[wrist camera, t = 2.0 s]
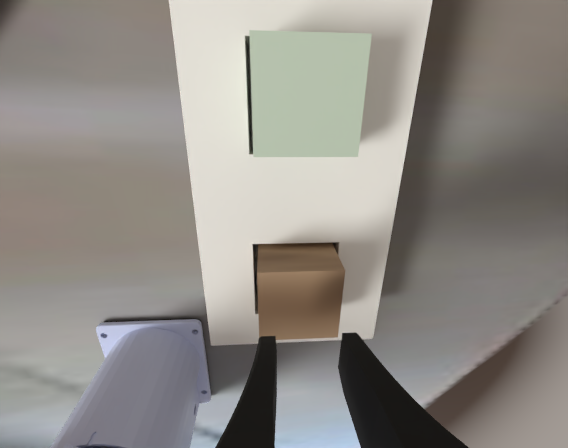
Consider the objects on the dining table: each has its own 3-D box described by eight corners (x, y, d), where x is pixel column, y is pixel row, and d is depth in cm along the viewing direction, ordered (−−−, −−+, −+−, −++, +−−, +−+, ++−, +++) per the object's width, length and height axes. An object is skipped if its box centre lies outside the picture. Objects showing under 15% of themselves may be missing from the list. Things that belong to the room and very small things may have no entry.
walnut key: (325, 297, 19) (337, 337, 16) (260, 300, 19) (259, 340, 16) (330, 239, 17) (345, 270, 14) (258, 240, 17) (257, 272, 14)
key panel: (355, 301, 23) (372, 338, 19) (219, 306, 22) (210, 345, 19) (396, 1, 15) (438, -32, 12) (188, -7, 15) (163, -44, 11)
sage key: (337, 145, 15) (358, 156, 12) (255, 145, 15) (253, 157, 12) (345, 50, 13) (371, 33, 10) (252, 48, 13) (249, 30, 10)
